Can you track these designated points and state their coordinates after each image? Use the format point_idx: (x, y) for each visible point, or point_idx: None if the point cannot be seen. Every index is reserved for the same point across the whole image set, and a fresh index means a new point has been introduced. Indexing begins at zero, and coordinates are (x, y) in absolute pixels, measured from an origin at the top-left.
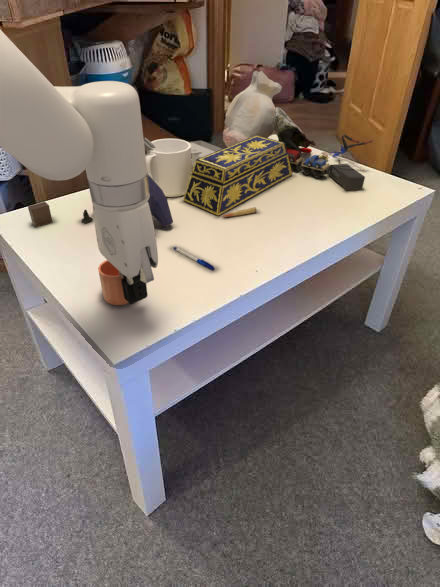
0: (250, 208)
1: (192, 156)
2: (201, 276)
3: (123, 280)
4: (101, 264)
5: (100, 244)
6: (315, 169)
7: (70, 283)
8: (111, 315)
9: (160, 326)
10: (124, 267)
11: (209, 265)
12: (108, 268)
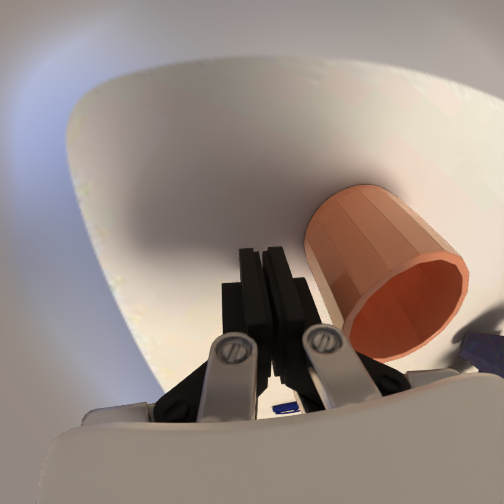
0: None
1: None
2: (271, 392)
3: (286, 324)
4: (464, 277)
5: (496, 448)
6: None
7: (488, 151)
8: (284, 163)
9: (140, 266)
10: (87, 500)
11: (285, 410)
12: (441, 277)
